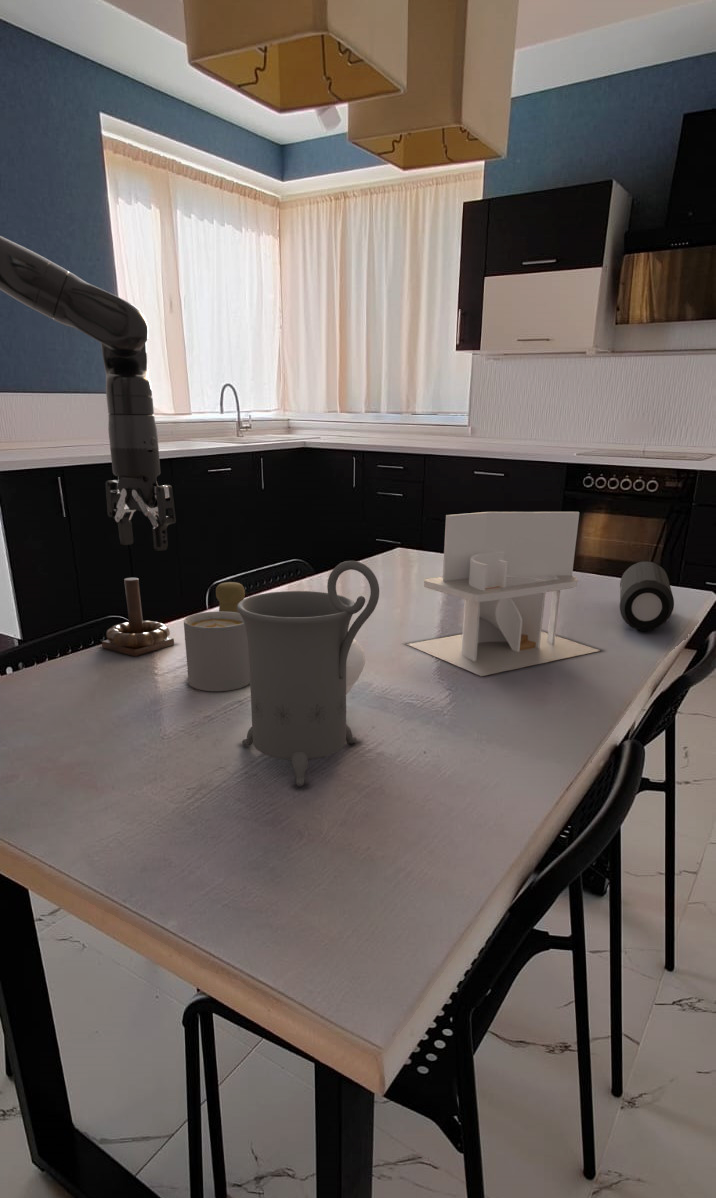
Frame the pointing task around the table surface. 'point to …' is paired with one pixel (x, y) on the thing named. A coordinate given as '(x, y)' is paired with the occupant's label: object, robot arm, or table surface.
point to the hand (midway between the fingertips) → (143, 547)
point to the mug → (302, 668)
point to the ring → (138, 635)
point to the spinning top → (354, 664)
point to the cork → (229, 596)
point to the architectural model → (506, 588)
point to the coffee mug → (217, 651)
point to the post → (135, 622)
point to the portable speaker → (645, 596)
